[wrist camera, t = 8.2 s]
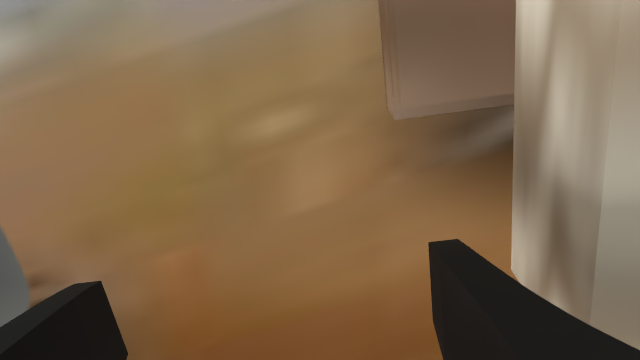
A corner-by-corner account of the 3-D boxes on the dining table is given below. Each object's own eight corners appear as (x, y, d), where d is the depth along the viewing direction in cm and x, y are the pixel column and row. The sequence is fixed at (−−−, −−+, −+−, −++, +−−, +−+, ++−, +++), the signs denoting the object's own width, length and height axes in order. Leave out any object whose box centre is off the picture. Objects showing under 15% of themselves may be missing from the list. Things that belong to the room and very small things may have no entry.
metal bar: (596, 260, 16) (704, 364, 12) (511, 269, 17) (584, 376, 12) (653, -336, 10) (917, -601, 6) (521, -312, 11) (675, -551, 6)
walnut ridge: (642, 73, 18) (727, 93, 14) (387, 107, 18) (403, 135, 15) (660, -70, 16) (762, -91, 12) (375, -27, 17) (391, -35, 13)
